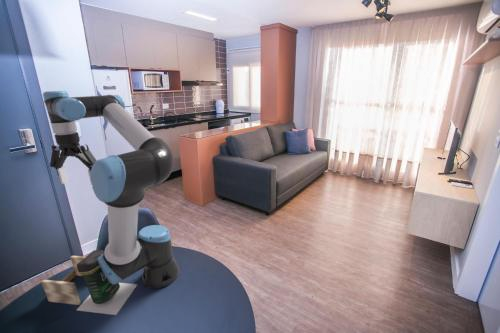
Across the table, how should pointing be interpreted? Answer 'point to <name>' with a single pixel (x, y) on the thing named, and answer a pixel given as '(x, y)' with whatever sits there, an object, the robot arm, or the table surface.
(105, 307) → the mat
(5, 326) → the table surface
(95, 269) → the coffee jar
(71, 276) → the shelf bay
